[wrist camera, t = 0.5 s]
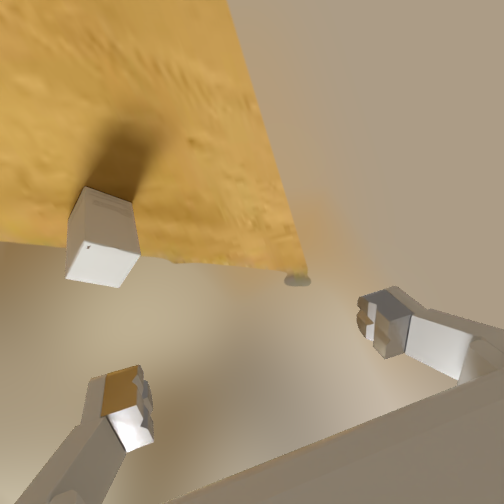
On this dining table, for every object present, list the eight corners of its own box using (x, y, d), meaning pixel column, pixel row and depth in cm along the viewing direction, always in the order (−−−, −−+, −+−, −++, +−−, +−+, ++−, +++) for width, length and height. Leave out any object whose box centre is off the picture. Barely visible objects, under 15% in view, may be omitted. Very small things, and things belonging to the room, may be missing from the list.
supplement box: (66, 221, 60) (61, 279, 50) (84, 184, 56) (83, 239, 46) (114, 235, 65) (119, 290, 56) (133, 202, 62) (142, 254, 52)
